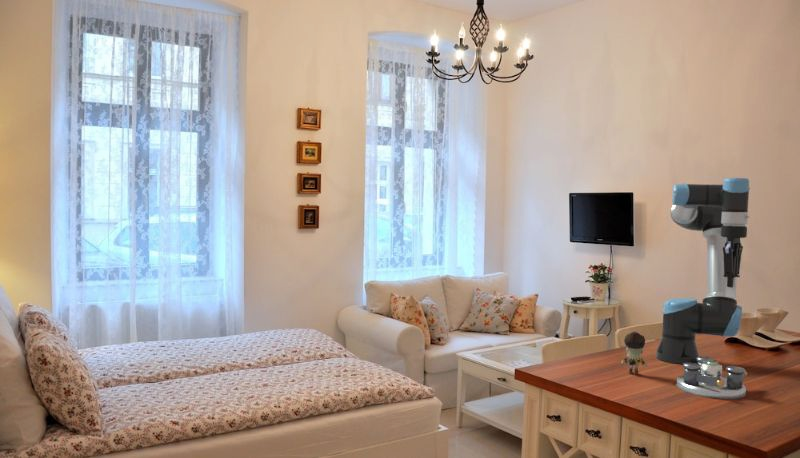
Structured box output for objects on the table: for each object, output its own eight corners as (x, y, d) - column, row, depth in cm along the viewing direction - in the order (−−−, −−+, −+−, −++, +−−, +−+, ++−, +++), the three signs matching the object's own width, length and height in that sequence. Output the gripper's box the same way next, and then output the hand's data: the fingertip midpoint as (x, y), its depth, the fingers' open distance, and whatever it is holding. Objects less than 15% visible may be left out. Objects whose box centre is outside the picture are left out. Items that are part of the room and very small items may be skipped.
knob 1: (709, 378, 207) (710, 361, 206) (693, 375, 210) (694, 358, 210) (723, 371, 216) (724, 354, 216) (707, 368, 220) (708, 351, 219)
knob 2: (678, 381, 203) (679, 363, 202) (688, 379, 205) (689, 361, 205) (718, 393, 191) (719, 374, 191) (728, 390, 194) (729, 371, 194)
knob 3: (741, 390, 195) (742, 371, 194) (722, 386, 198) (723, 368, 198) (752, 381, 204) (753, 363, 204) (735, 378, 208) (736, 360, 208)
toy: (647, 372, 221) (649, 330, 220) (646, 378, 214) (648, 334, 213) (621, 369, 225) (622, 327, 224) (619, 374, 218) (620, 331, 217)
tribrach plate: (667, 388, 203) (668, 361, 203) (689, 376, 217) (690, 351, 217) (734, 403, 189) (735, 374, 189) (753, 389, 203) (755, 363, 203)
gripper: (740, 226, 198) (736, 300, 200) (752, 225, 208) (749, 296, 209) (715, 225, 204) (711, 297, 205) (728, 224, 213) (724, 293, 214)
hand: (730, 296), depth 207 cm, fingers closed
